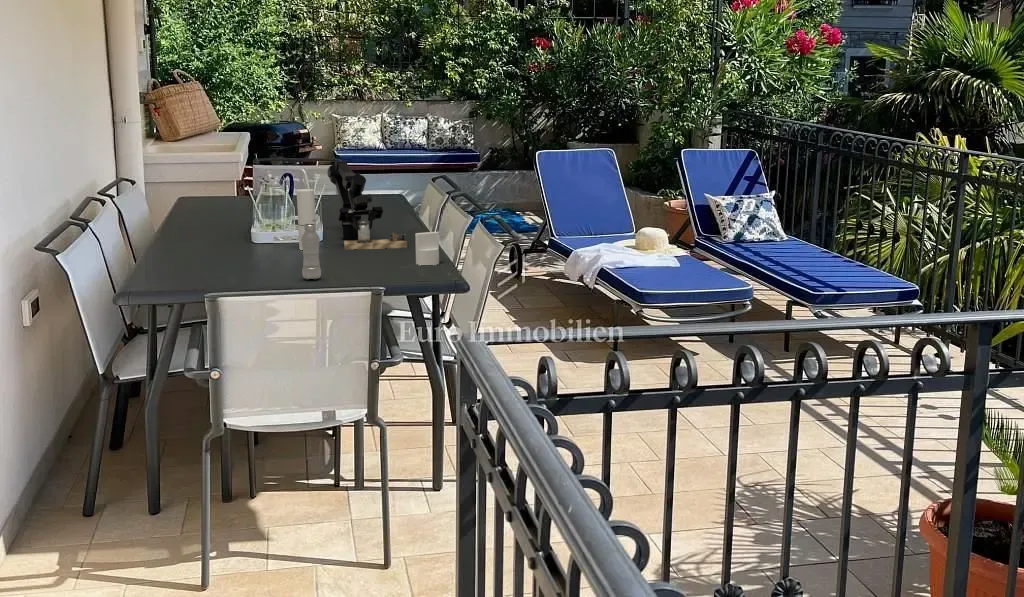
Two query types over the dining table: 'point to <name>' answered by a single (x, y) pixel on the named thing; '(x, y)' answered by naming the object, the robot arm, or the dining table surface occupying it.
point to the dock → (376, 244)
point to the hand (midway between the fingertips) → (364, 229)
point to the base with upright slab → (427, 248)
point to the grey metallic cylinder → (363, 231)
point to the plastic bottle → (310, 253)
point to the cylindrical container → (305, 210)
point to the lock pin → (398, 237)
